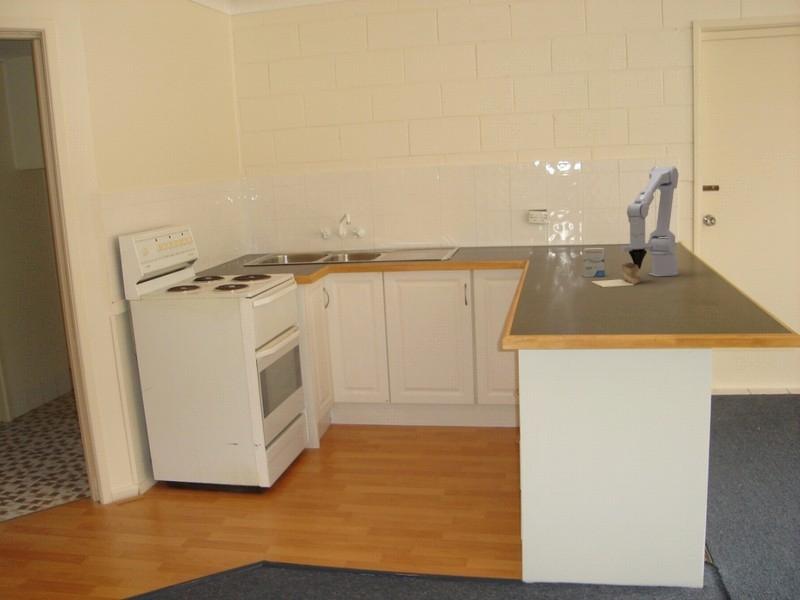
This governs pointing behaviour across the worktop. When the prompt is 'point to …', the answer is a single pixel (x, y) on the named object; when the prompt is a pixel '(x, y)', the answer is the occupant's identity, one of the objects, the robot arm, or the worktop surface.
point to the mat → (612, 283)
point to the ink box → (594, 262)
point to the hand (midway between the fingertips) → (637, 268)
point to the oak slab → (631, 273)
